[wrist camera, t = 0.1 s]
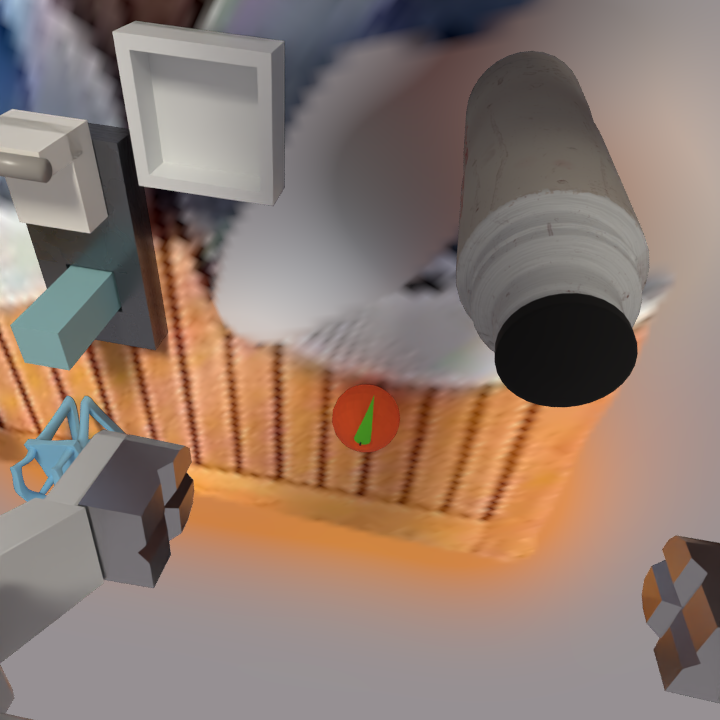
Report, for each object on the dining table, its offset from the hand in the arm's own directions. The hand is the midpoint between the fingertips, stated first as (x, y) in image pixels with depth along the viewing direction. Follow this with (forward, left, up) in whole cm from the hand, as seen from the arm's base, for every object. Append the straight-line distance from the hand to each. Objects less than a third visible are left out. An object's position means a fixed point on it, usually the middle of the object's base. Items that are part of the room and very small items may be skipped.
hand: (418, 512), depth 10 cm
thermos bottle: (+5, +5, -39) cm, 40 cm away
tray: (+8, -18, -39) cm, 43 cm away
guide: (+21, -30, -39) cm, 53 cm away
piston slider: (+13, -30, -36) cm, 48 cm away
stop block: (+25, -30, -39) cm, 55 cm away
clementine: (+35, -3, -39) cm, 52 cm away
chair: (+48, -37, -39) cm, 72 cm away
